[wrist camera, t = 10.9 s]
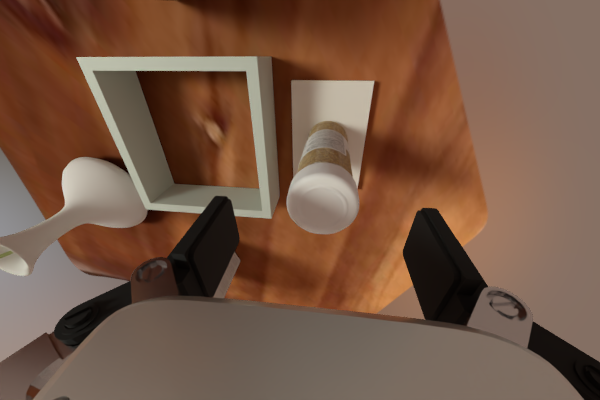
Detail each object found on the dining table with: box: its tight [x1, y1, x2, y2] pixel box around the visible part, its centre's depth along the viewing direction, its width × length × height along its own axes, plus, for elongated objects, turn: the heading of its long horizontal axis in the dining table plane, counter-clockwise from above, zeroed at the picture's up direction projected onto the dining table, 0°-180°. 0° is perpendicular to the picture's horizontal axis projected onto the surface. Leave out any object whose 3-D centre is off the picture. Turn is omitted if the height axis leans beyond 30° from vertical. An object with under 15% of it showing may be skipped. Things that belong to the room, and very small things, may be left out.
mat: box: [291, 80, 374, 188], centre depth 25 cm, size 12×8×1 cm, turn 0°
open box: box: [76, 57, 280, 219], centre depth 25 cm, size 16×16×5 cm
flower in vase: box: [0, 157, 147, 276], centre depth 22 cm, size 13×11×25 cm
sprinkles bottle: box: [286, 121, 359, 234], centre depth 19 cm, size 5×5×14 cm
